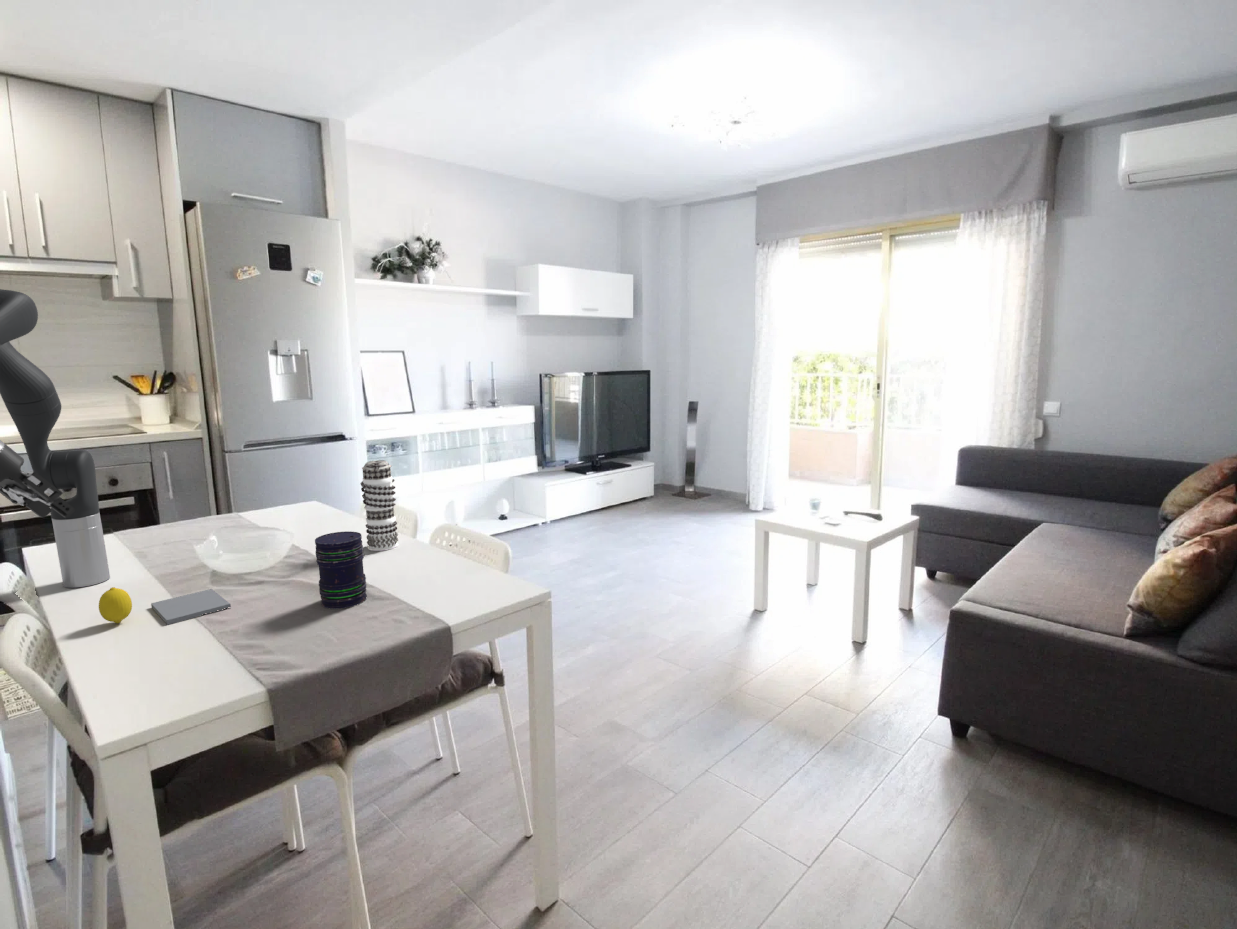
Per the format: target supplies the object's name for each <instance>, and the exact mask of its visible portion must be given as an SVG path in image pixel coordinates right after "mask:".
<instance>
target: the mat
mask: <svg viewBox="0 0 1237 929" xmlns="http://www.w3.org/2000/svg"><path fill="white" fill-rule="evenodd" d="M150 606H151V608H152V609H153V611H154V612H155V613H156V614H157V615H158V616H159V617H160V619H161V620H163V622H164V623H165V624H166V625H167V626H169V625H173V624H176V623H179V622H183V621H187V620H190V619H195V618H198V617H197V616H199V615H202V614H205V613H210V612H214V613H216V612H215V611H217V610H221V611H223V610H222V609H224V608H228V607H231V608H232V606H231V602H229V601H228V600H226V599H225V598H224V597H223V596H222V595H220V594H219V593H218V592H216V591H215V590H214V589H213V588H210V589H209V588H208V589H205V590H201V591H196V592H193V593H188V594H185V595H184V594H183V595H179V596H175V597H172V598H167V599H164V600H163V599H162V600H159V601H156V602H151V603H150ZM210 614H211V613H210ZM199 617H200V616H199Z"/></svg>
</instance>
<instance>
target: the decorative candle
mask: <svg viewBox="0 0 1237 929" xmlns="http://www.w3.org/2000/svg"><path fill="white" fill-rule="evenodd" d="M391 467H392V464H391V465H390V464H389V462H388V461H387V460H383V459H382V460H381V459H378V460H370V461H367V462H365V463H364V466H362V467H361V469H362V481H361V482H360V484H359V485H360V486H361V492H362V495H361V496H362V499H363V500H362V504H364V505H365V506H364V508H363V509H364V510H365V512H366V515H365V516H366V518H365V521H366V522H365V523H366V524H365V528H366V530H365V532H366V533H367V535H366V537H365V538H366V540H367V541H366V543H367V545H368V546H367V550H369V551H375V552H381V551H389V550H392V549H395V548H398V546H399V543H398V542H399V537H398V535H399V534H398V532H397V530H398V526H397V525H398V522H397V521H396V515H395V510H394V508H395V507H396V505H397V504H396V503H395V501H396V498H395V497H393V496H394V495H396V491H395V489H396V486H395V485H393V484H392V483H394V482H395V479H393V475H392V470H391Z"/></svg>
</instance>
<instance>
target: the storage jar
mask: <svg viewBox="0 0 1237 929" xmlns="http://www.w3.org/2000/svg"><path fill="white" fill-rule="evenodd" d="M314 544H315V558H316V564H317V566H318V572H319V580H318V587H319V588H318V591H319V595H320V599H321V601H320V603H321V606H322V607H323V608H325V609H328V608H330V609H331V610H338V609H339V610H340V609H341V608H342V609H348V608H352V607H355V606H354V605H356V606H358V605H360V603H361V602H362V603H364V602H365V601H366V600H367V599H366V597H367V596H368V595H367V580H366V579H367V577H366V574H365V573H364V563H363V562H364V561H363V560H364V557H365V554H364V544H363V540H362V533H360V532H358V531H349V530H348V531H337V532H330V533H326V534H322V535H319V536H318V537H316V538H315V539H314ZM367 598H368V597H367ZM365 599H366V600H365ZM364 600H365V601H364ZM363 601H364V602H363ZM362 603H361V604H362ZM357 604H358V605H357ZM347 607H348V608H347Z"/></svg>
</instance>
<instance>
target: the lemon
mask: <svg viewBox="0 0 1237 929" xmlns="http://www.w3.org/2000/svg"><path fill="white" fill-rule="evenodd" d="M132 609H133V602H132V598H131V596H130V594H129V592H127V591H126V590H124V589H122V588H116V587H110V588H109V589H108V590H105V592H103V593H102V594H101V596H100V598H99V601H98V610H99V614H100V616H101V617H102V618H103V619H104V620H105V621H107V622H112V623H115V624H117V625H118V624H120V623H121V622H122V621H123V620H125V619H127V617H129V616H130V614H131V613H132Z"/></svg>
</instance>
